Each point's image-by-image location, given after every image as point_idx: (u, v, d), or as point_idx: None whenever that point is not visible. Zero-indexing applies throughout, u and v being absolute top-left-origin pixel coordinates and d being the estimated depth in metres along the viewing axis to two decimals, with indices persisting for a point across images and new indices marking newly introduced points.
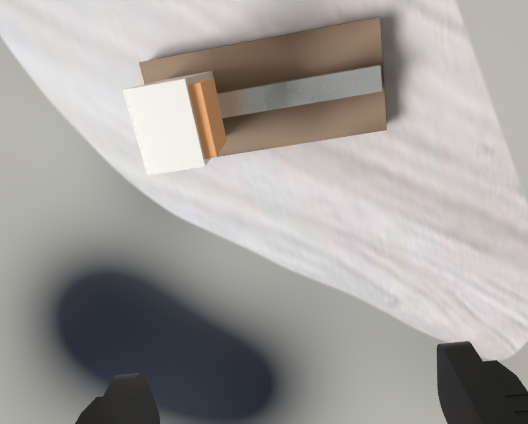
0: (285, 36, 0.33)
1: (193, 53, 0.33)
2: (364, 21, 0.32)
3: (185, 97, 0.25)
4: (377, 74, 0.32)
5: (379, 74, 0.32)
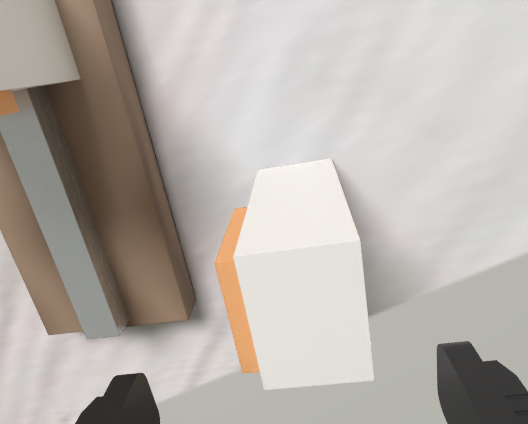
0: (150, 201, 0.21)
1: (103, 44, 0.18)
2: (180, 302, 0.23)
3: None
4: (107, 333, 0.23)
5: (107, 335, 0.23)
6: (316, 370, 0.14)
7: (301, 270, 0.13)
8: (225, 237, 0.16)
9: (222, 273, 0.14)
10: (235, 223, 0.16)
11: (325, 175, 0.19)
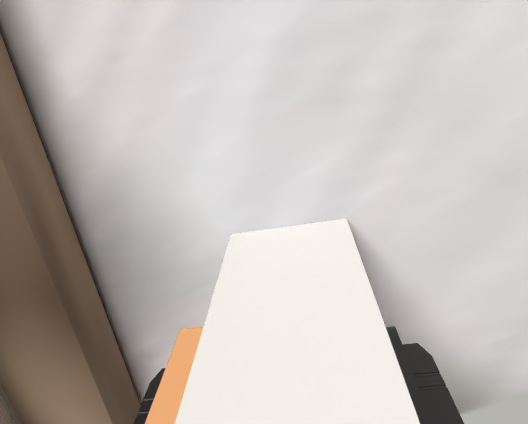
0: (53, 291, 0.13)
1: None
2: None
3: None
4: None
5: None
6: None
7: None
8: None
9: None
10: (172, 382, 0.08)
11: (341, 262, 0.11)
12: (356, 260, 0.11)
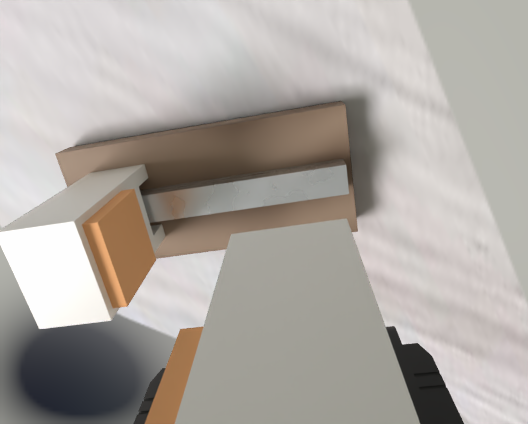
0: (230, 126, 0.27)
1: (120, 144, 0.27)
2: (326, 109, 0.26)
3: (77, 242, 0.19)
4: (342, 175, 0.26)
5: (345, 175, 0.26)
6: None
7: None
8: None
9: None
10: (172, 381, 0.08)
11: (341, 262, 0.11)
12: (356, 260, 0.11)
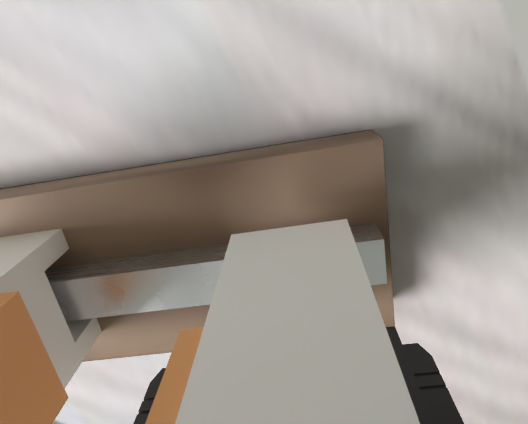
0: (194, 172, 0.16)
1: (20, 198, 0.17)
2: (351, 147, 0.16)
3: None
4: (377, 255, 0.16)
5: (381, 254, 0.16)
6: None
7: None
8: None
9: None
10: (173, 382, 0.08)
11: (341, 262, 0.11)
12: (356, 260, 0.11)
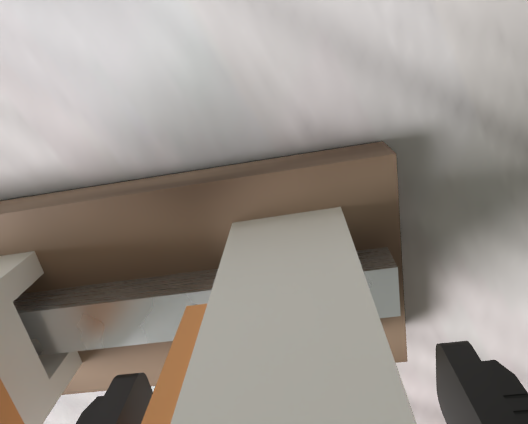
0: (183, 189, 0.15)
1: None
2: (360, 162, 0.14)
3: None
4: (390, 285, 0.14)
5: (394, 284, 0.14)
6: None
7: None
8: (156, 388, 0.08)
9: None
10: (180, 349, 0.09)
11: (335, 244, 0.12)
12: (348, 242, 0.12)
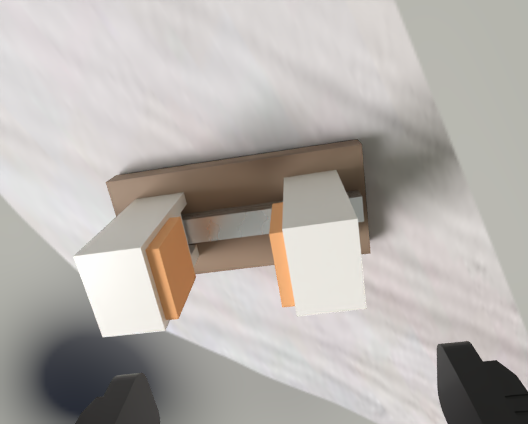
0: (261, 161, 0.30)
1: (163, 175, 0.31)
2: (345, 148, 0.30)
3: (142, 265, 0.23)
4: (358, 205, 0.30)
5: (361, 205, 0.30)
6: (330, 302, 0.23)
7: (323, 237, 0.22)
8: (270, 220, 0.24)
9: (273, 240, 0.22)
10: (275, 212, 0.25)
11: (333, 181, 0.28)
12: (339, 180, 0.28)
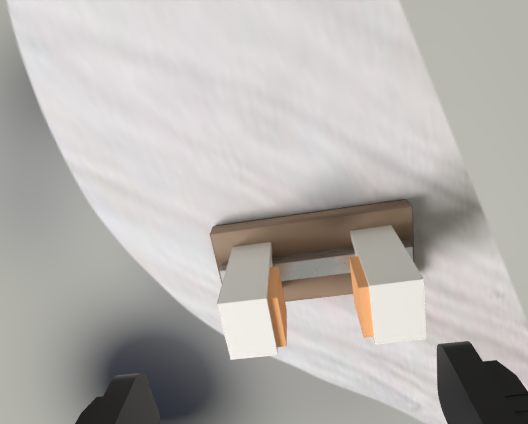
0: (333, 218, 0.39)
1: (255, 229, 0.40)
2: (399, 209, 0.39)
3: (266, 310, 0.32)
4: (409, 253, 0.39)
5: (411, 253, 0.39)
6: (400, 334, 0.32)
7: (398, 291, 0.31)
8: (353, 274, 0.33)
9: (361, 292, 0.31)
10: (355, 266, 0.34)
11: (393, 238, 0.37)
12: (397, 238, 0.37)
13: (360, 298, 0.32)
